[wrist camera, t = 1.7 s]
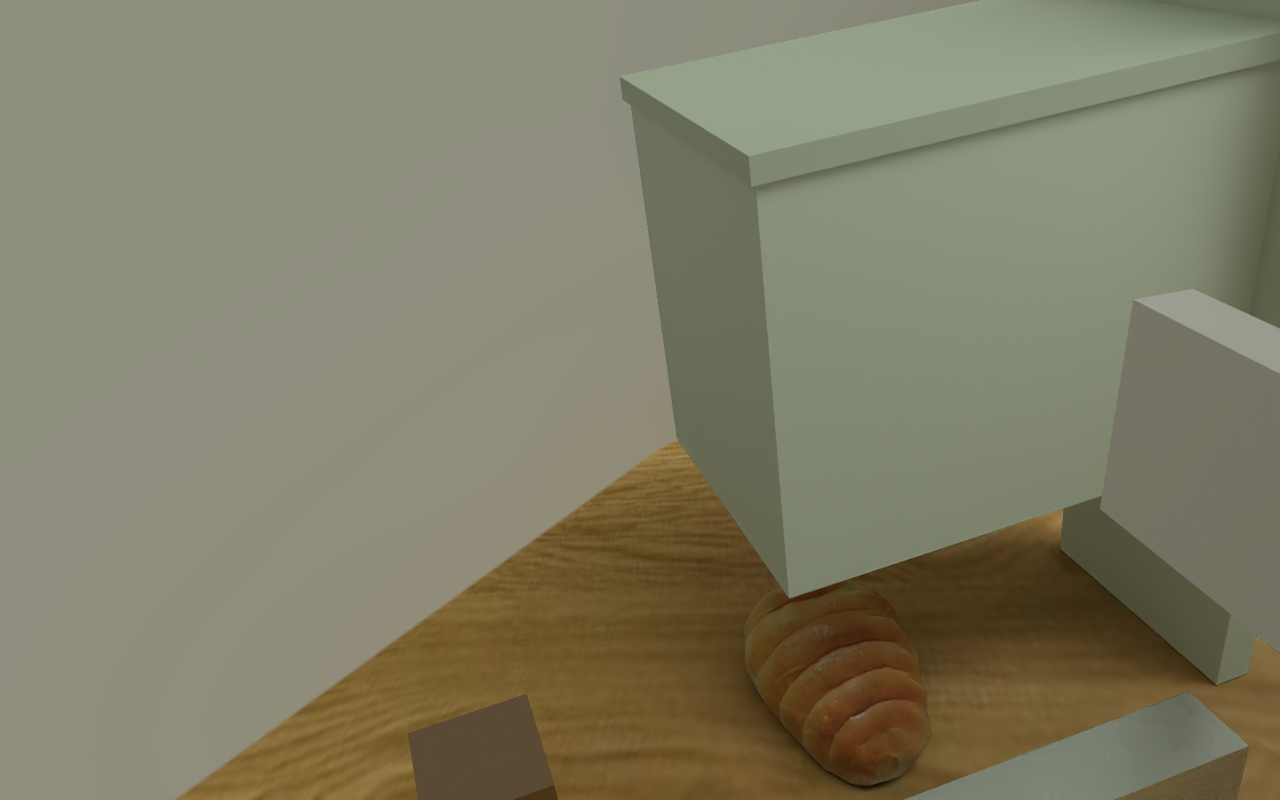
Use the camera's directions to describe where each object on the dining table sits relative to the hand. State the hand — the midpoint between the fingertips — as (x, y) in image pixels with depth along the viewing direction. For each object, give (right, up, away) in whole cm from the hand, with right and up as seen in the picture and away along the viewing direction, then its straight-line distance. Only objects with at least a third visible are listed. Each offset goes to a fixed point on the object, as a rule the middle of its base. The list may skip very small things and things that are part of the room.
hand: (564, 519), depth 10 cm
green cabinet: (+13, -9, +34) cm, 38 cm away
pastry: (+9, -11, +33) cm, 36 cm away
